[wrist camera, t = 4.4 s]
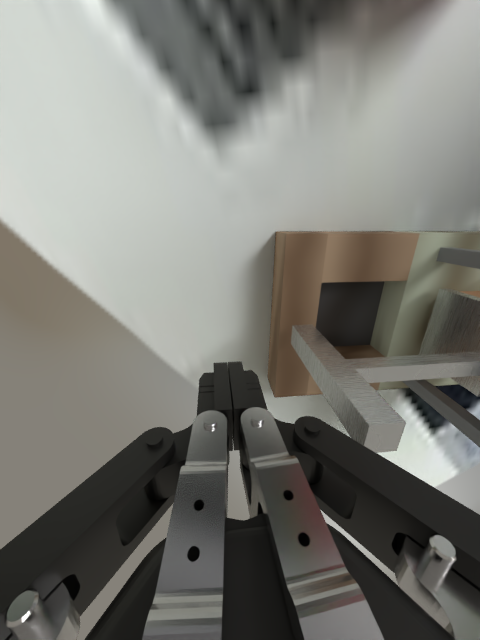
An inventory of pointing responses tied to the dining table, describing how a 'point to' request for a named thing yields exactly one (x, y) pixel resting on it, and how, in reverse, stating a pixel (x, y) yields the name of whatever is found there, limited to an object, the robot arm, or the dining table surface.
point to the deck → (359, 296)
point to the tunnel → (434, 397)
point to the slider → (394, 369)
